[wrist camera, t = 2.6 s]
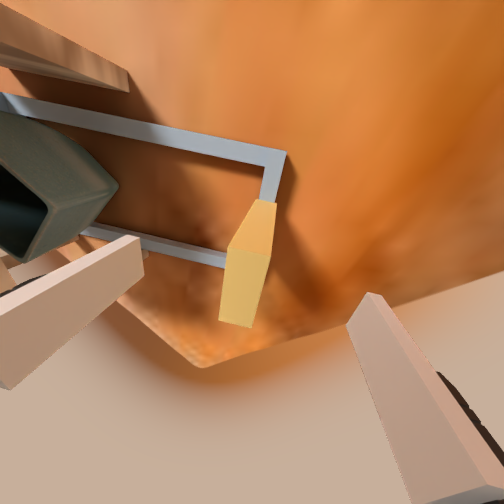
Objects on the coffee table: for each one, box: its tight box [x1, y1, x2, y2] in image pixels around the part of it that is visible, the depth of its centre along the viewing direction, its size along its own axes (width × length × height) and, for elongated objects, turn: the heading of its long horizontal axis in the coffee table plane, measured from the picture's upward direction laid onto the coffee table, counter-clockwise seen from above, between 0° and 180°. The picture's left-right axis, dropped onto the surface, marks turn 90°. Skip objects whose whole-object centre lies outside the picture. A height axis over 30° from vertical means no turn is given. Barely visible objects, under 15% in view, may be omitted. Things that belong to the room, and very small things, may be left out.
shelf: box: [0, 3, 149, 293], centre depth 15 cm, size 19×12×14 cm, turn 169°
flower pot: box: [0, 110, 119, 263], centre depth 17 cm, size 9×9×9 cm
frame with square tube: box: [0, 92, 287, 328], centre depth 15 cm, size 14×28×12 cm, turn 79°
